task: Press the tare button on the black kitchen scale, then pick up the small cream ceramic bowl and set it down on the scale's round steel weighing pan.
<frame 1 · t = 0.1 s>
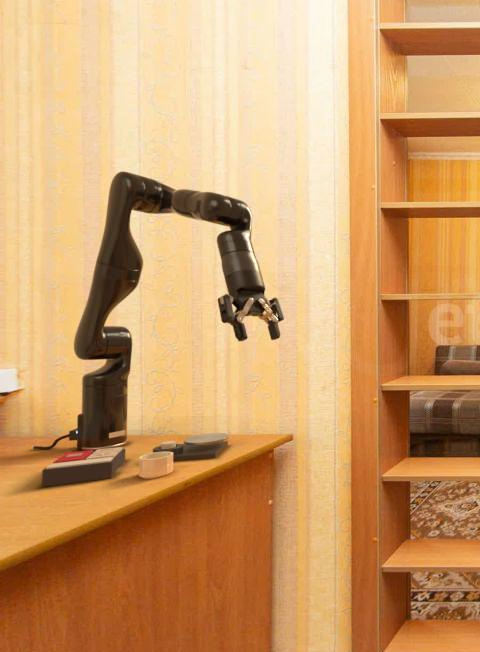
hand: (260, 339, 101), 31 cm above the table, tool tilted 20°, fingers open, 8 cm apart
scale: (190, 454, 115), on the table
bowl: (156, 475, 99), on the table
calculator: (87, 473, 100), on the table
tare button: (168, 445, 111), point 3 cm above the table, slide at 0.1 cm
pan: (206, 450, 118), resting on scale
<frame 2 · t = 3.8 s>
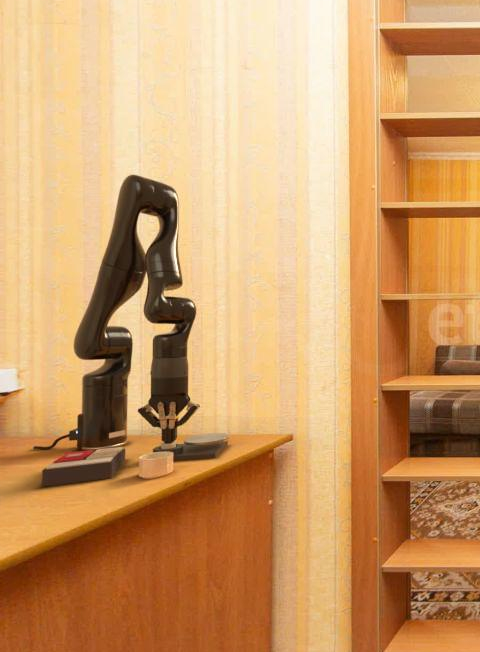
hand: (169, 442, 111), 4 cm above the table, tool pointing down, fingers closed
tare button: (168, 445, 111), point 3 cm above the table, slide at 0.0 cm, touching gripper
everything else where it was.
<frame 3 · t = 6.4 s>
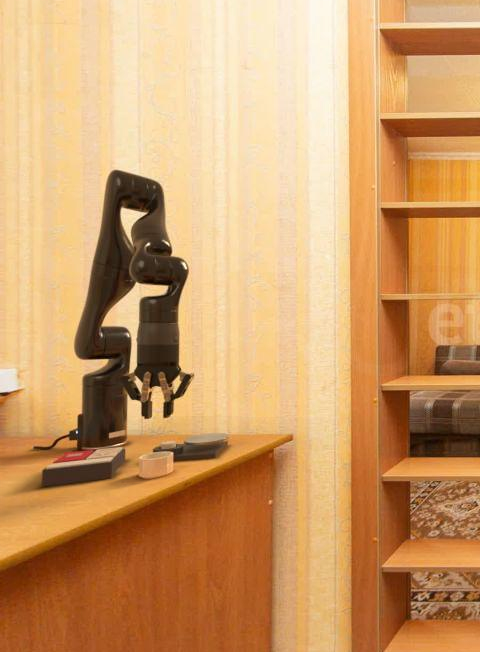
hand: (157, 417, 99), 13 cm above the table, tool pointing down, fingers open, 3 cm apart
tare button: (168, 445, 111), point 3 cm above the table, slide at 0.1 cm
everything else where it was.
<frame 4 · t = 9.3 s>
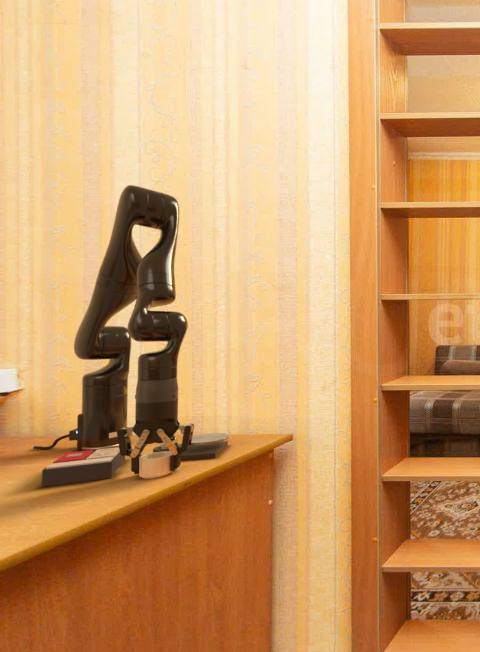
hand: (156, 471, 99), 1 cm above the table, tool pointing down, fingers closed on bowl, 6 cm apart
bowl: (156, 475, 99), on the table, touching gripper
everything else where it was.
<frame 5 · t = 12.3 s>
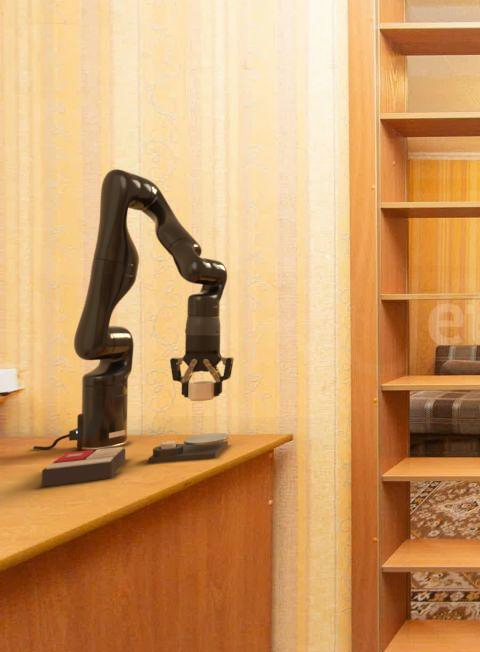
hand: (202, 396, 116), 15 cm above the table, tool pointing down, fingers closed on bowl, 6 cm apart
bowl: (202, 399, 116), point 14 cm above the table, touching gripper
everything else where it was.
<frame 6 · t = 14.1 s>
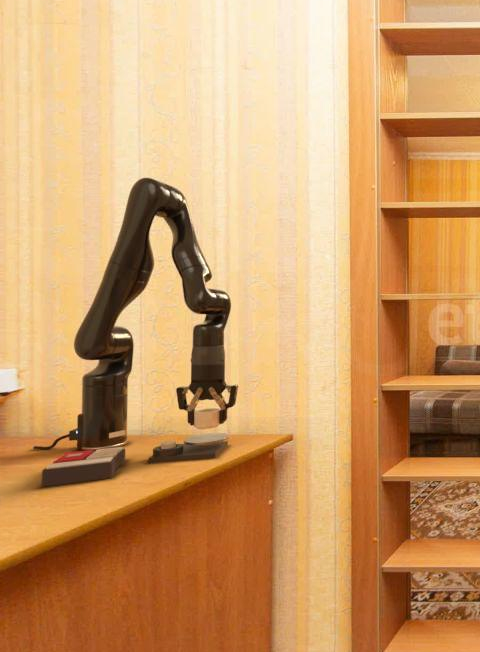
hand: (207, 423, 118), 7 cm above the table, tool pointing down, fingers closed on bowl, 6 cm apart
bowl: (207, 426, 118), point 7 cm above the table, touching gripper
everything else where it was.
when the fingers open (4 cm above the table, at t = 15.5 s): bowl stays where it is, resting on pan.
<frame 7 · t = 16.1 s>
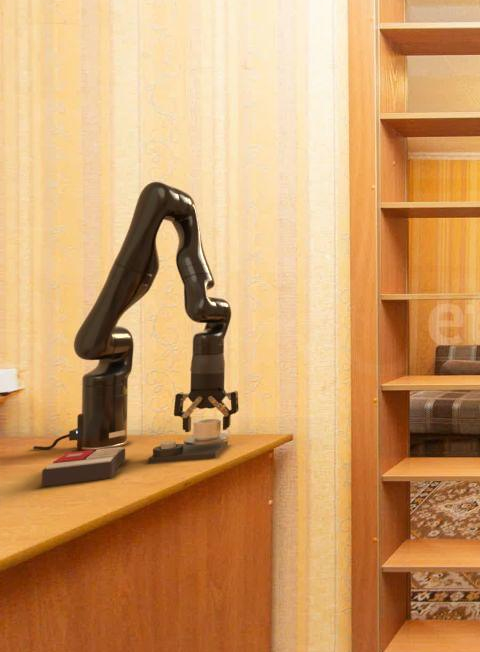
hand: (206, 430, 118), 6 cm above the table, tool pointing down, fingers open, 8 cm apart
bowl: (207, 437, 118), point 4 cm above the table, touching pan
everything else where it was.
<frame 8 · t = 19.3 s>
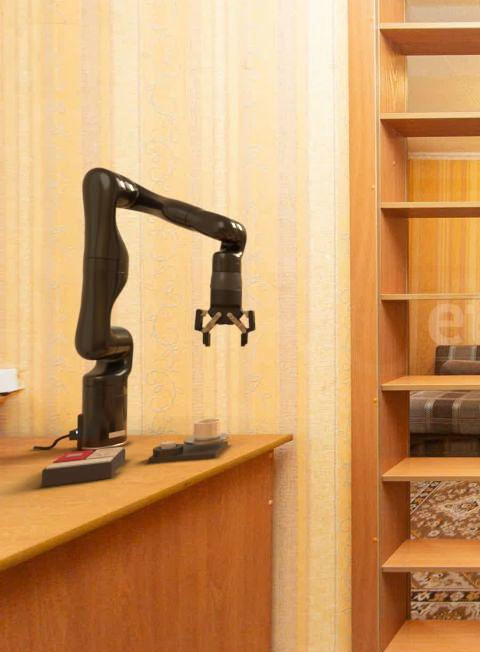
hand: (225, 346, 123), 28 cm above the table, tool pointing down, fingers open, 8 cm apart
nothing on the table moved.
at the end: tare button pushed in 1.0 cm at the most during the clip and back out by the end; bowl 0.1 cm off-centre on the pan, point 3.6 cm above the pan's base; bowl tilted 0° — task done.
